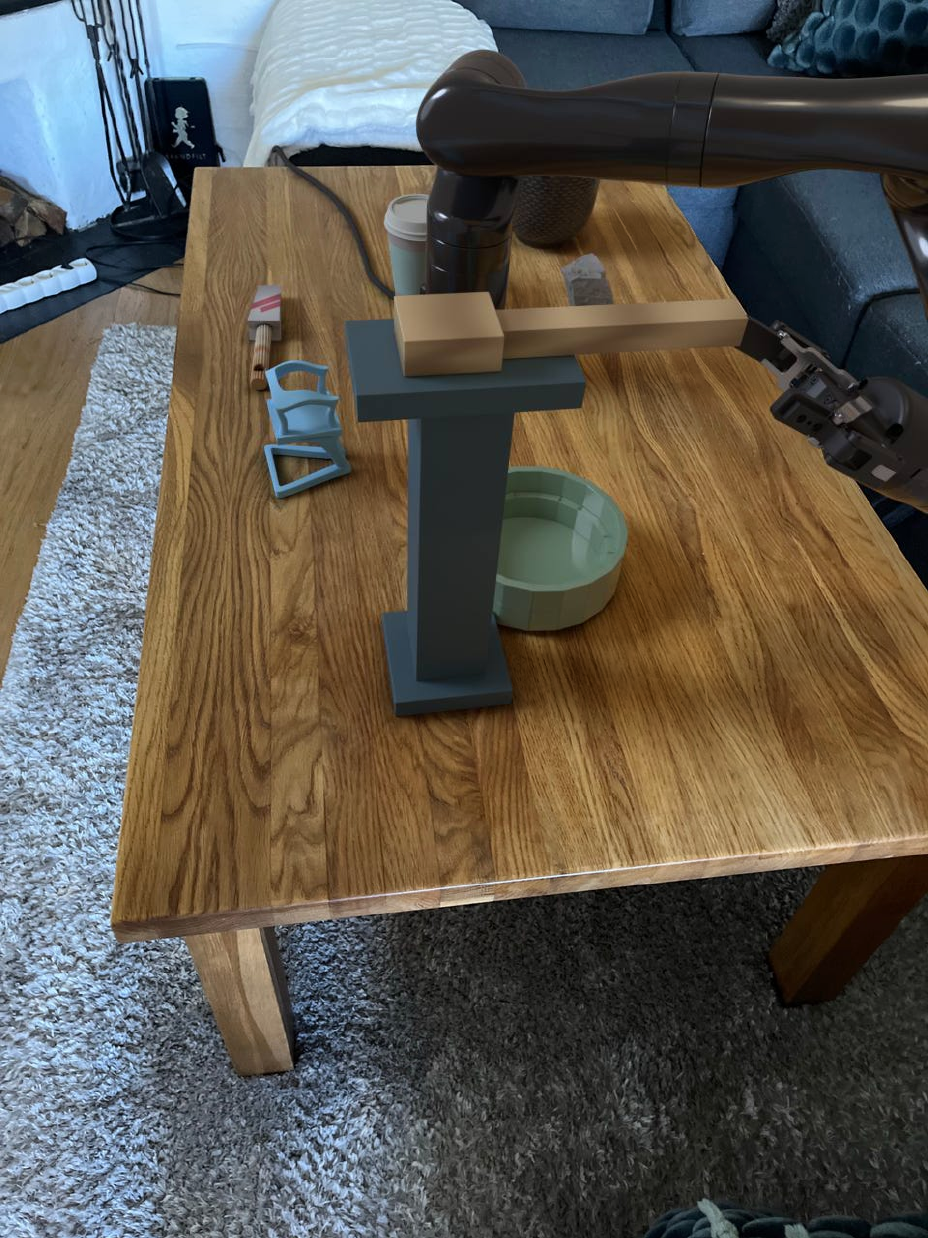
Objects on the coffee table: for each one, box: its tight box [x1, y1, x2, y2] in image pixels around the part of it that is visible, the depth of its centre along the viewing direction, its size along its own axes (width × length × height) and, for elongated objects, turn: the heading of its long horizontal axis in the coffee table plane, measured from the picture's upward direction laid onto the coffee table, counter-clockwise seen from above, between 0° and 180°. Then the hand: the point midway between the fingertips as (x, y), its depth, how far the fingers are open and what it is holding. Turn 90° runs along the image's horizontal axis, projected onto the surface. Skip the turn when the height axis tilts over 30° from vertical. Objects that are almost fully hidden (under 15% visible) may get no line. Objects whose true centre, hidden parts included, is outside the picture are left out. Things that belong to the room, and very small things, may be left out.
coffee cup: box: [383, 193, 429, 296], centre depth 117 cm, size 8×9×12 cm
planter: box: [512, 176, 601, 250], centre depth 129 cm, size 14×14×13 cm
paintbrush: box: [246, 284, 282, 391], centre depth 113 cm, size 4×3×20 cm
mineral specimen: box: [560, 252, 615, 306], centre depth 117 cm, size 7×9×8 cm
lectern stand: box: [344, 318, 587, 717], centre depth 71 cm, size 14×10×32 cm
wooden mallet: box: [393, 292, 748, 377], centre depth 59 cm, size 22×5×2 cm, turn 100°
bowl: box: [493, 465, 629, 632], centre depth 89 cm, size 17×17×6 cm
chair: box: [263, 359, 352, 499], centre depth 94 cm, size 8×8×12 cm
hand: (757, 362), depth 63 cm, fingers open, 8 cm apart
